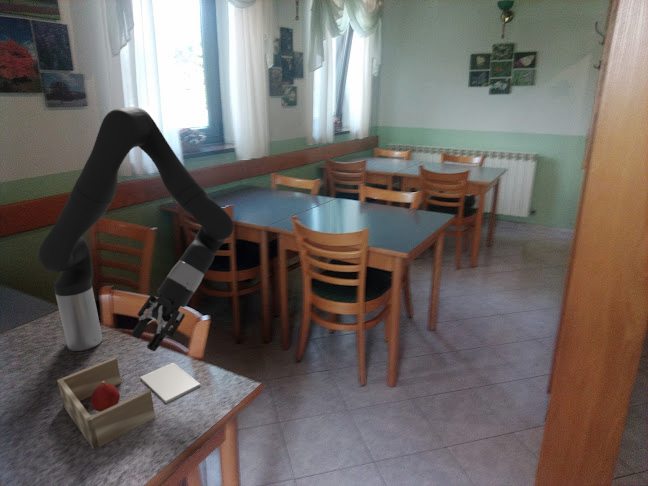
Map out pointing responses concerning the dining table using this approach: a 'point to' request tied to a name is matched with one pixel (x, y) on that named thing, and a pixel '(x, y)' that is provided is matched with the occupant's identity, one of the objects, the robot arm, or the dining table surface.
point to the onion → (104, 397)
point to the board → (169, 382)
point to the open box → (112, 419)
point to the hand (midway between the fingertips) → (142, 343)
